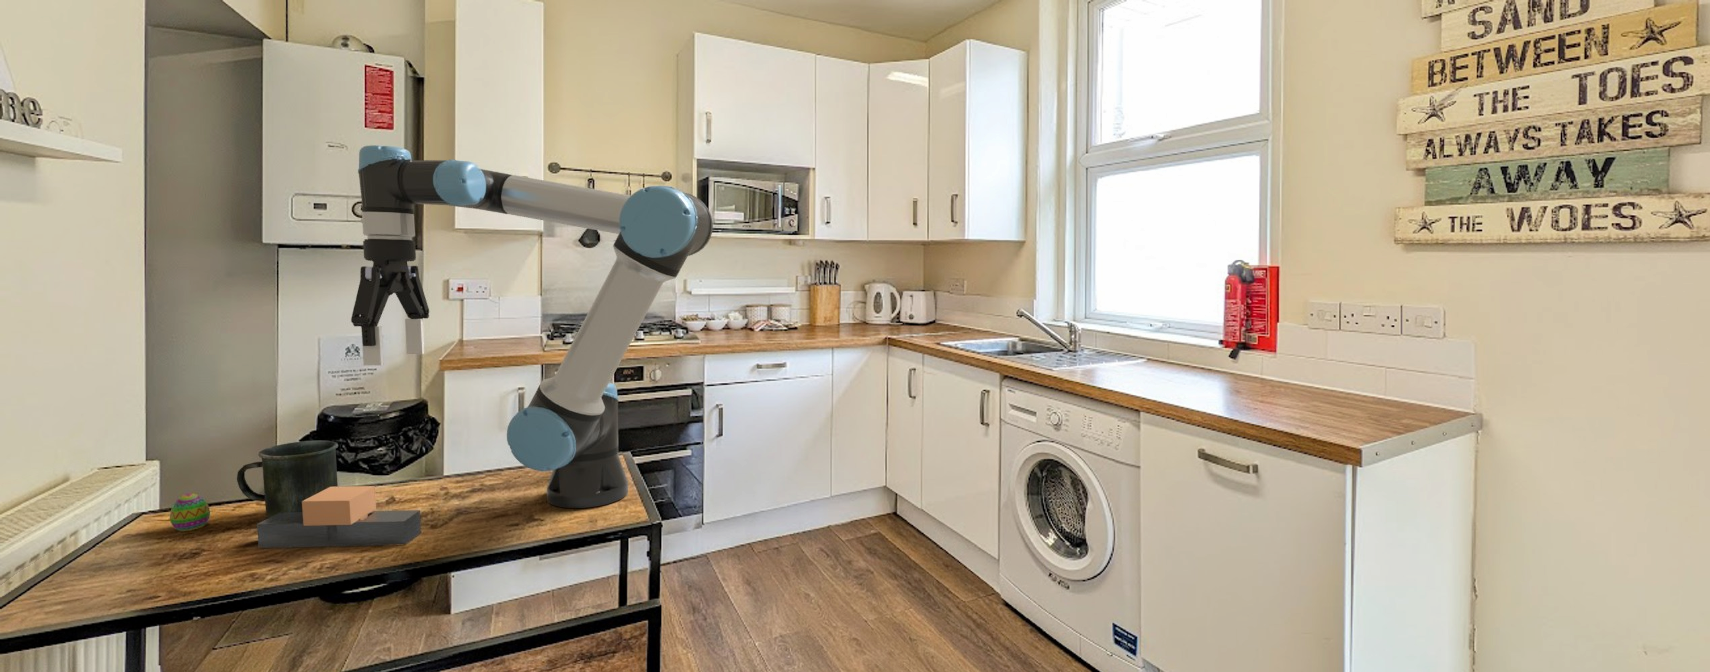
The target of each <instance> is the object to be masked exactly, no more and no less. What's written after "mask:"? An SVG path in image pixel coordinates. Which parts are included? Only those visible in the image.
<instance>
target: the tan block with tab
mask: <svg viewBox="0 0 1710 672" xmlns="http://www.w3.org/2000/svg"><path fill="white" fill-rule="evenodd" d="M302 509H303V524H304V526H309V525H351V524H353V523H354V522H356V521H358V520H364V519H365V518H367V517H368V514H369V513H370V512H372V511H376V510H377V499H376V486H374V485H368V486H367V485H365V486H364V485H363V486H362V485H361V486H360V485H359V486H357V485H355V486H354V485H353V486H338V487H329V488H327V489H325V490H323V491H321V492H319V493H317V494H315V495H313V496H311V497H309V498H307V499H306V500H304V501H302Z"/></svg>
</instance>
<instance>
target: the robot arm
mask: <svg viewBox="0 0 1710 672" xmlns="http://www.w3.org/2000/svg"><path fill="white" fill-rule="evenodd" d="M357 173H358V179H359V187H360V188H359V189H360V190H359V191H360V198H361V214H362V215H361V219H360V223H361V224H362V235H364V236H367V238H364V240H363V241H362V244H363V245H362V248H363V258H364V259H365V261H370V262H372V266H367V265H366V266H361V267H360V274H359V275H360V277H359V278H360V280H359V285H358V288H357V291H356V297H355V301H354V305H353V310H352V313H351V318H350V320H351V321H350V322H351V323H352V325H353V326H354V327H360V328H361V329H360V330H361V341H362V342H361V343H362V344H361V345H362V359H363V366H384V351H383V350H384V349H383V333H382V332H383V331H382V326H381V325H379V322H380V320H381V317H382V314H383V313H384V310H385V307H386V304H387V302H388V299H389V297H390V296H392V295H394V294H395V295H396V297H397V299H398V301H399V303H400V304H401V306H402V309H403V310H404V312H405V315H406V316H407V318H405V319H404V323H405V324H404V325H405V345H406V355H424V354H425V343H424V342H425V341H424V340H425V339H424V336H425V335H424V323H423V321H424V320H423V319H429V317H430V315H429V314H430V307H429V305H428V302H427V298H426V295H425V291H424V288H423V285H422V282H421V280H420V279H421V278H420V272H419V266H418V265H409V264H408V262H414V261H416V258H417V252H416V242H415V241H414V240H412V238H414V237H416V231H415V230H416V228H415V227H416V226H415V214H414V207H415V206H414V205H432V206H435V205H436V206H449V207H457V208H467V209H474V210H481V211H485V212H486V211H487V212H492V213H498V214H505V215H511V216H517V217H523V218H528V219H534V220H540V221H544V222H551V223H554V224H555V223H556V224H560V225H567V226H572V227H578V228H584V229H588V230H593V231H594V230H595V231H599V232H604V233H611V234H615V235H617V237H616V239H615V241H614V243H613V245H612V248H613V250H614V253H615V256H616V260H615V261H614V263H613V265H612V267H611V269H610V271H609V272H608V274H607V276H606V278H605V280H604V282H603V283H602V286H601V288H600V290H599V291H598V294H597V295H596V297H595V299H594V301H593V303H592V305H591V307H590V309H589V310H588V312H587V314H586V316H585V318H584V320H583V322H582V323H581V325H580V327H579V329H578V332H577V333H576V335H575V337H574V339H573V341H572V342H571V344H570V346H569V348H568V350H567V352H566V354H565V356H564V358H563V359H562V361H561V364H560V365H559V367H558V369H557V370H556V371H557V372H556V373H555V375H554V376H553V377H549V378H545V379H543V380H542V381H541V382H540V384H539V385H538V387H537V389H536V391H535V393H534V395H533V396H532V399H531V400H530V402H529V404H528V406H527V407H524V408H522V409H520V410H519V411H518V412H516V414H515V415H513V417H512V418H511V419H510V421H509V423H508V425H507V429H506V441H507V445H508V446H509V449H510V453H512V456H513V457H514V458H515V459H516V460H517V461H518V462H519V464H521V465H523V466H525V467H527V468H528V469H530V470H532V471H537V472H551V474H550V477H549V481H548V484H547V487H546V499H547V500H546V501H547V502H548V503H549V504H550V505H553V506H556V507H560V508H567V509H588V508H593V507H600V506H605V505H608V504H612V503H615V502H617V501H618V502H619V501H620V500H622V499H623V498H625V497H626V496H627V495H628V492H629V480H628V477H627V475H626V472H625V470H624V467H623V463H622V461H621V459H620V456H619V396H618V389H617V386H616V384H614V383H612V382H611V379H612V378H613V376H614V374H615V372H616V371H617V369H618V367H619V365H620V363H621V361H622V360H623V358H624V356H625V354H626V352H627V350H628V349H629V347H630V344H631V343H632V341H633V340H634V338H635V336H636V333H637V332H638V330H639V328H640V327H641V325H642V323H643V321H644V319H645V317H646V315H647V313H648V311H649V310H650V308H651V306H652V305H653V303H654V300H655V299H656V297H657V295H658V293H659V291H660V289H661V288H662V285H663V283H665V282H667V281H671V280H674V279H676V278H678V277H677V276H678V275H679V273H680V272H681V269H682V268H683V266H684V264H685V263H686V261H687V259H688V257H690V256H693V255H696V254H697V253H699V252H701V251H703V249H704V248H705V247H706V246H707V245H708V243H709V242H710V239H711V237H712V234H713V229H714V222H713V221H714V220H713V217H712V214H711V212H710V209H709V208H708V207H707V206H706V204H705V203H704V202H703V201H702V200H701V199H700V198H699V197H696V196H695V195H693V194H690V193H687V192H684V191H681V190H679V189H677V188H675V187H673V186H668V185H651V186H645V187H642V188H641V189H639V190H637V191H635V192H634V193H632V194H631V195H630V194H629V195H628V194H623V193H619V192H612V191H607V190H601V189H596V188H591V187H590V188H588V187H584V186H577V185H572V184H566V183H561V182H557V181H555V182H554V181H550V180H543V179H539V178H532V177H528V176H527V177H526V176H522V175H521V176H520V175H513V174H509V173H504V172H499V171H492V170H488V169H482V168H479V166H478V165H477V163H474V162H472V161H467V160H465V161H464V160H457V159H448V160H447V159H446V160H442V159H438V160H437V159H436V160H435V159H434V160H433V159H431V160H430V159H429V160H428V159H426V160H425V159H423V160H422V159H419V160H418V159H413V158H412V154H411V152H410V151H409V150H408V149H406V148H402V147H397V146H389V145H373V144H372V145H371V144H370V145H364V146H363V147H361V148H360V149H359V152H358V169H357ZM378 325H379V326H378Z"/></svg>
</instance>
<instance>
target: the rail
mask: <svg viewBox="0 0 1710 672" xmlns="http://www.w3.org/2000/svg"><path fill="white" fill-rule="evenodd" d="M421 524H422V521H421V510H420V509H418V510H417V509H413V510H411V509H409V510H405V509H404V510H402V509H401V510H374V511H372V512H370V513H369V514H368V517H367V518H365V519H364V520H358V521H356V522H354V523H353V524H351V525H309V526H304V524H303V512H288V513H278V514H276V515H274V516H272V517H270V518H268V517H267V518H266V519H264V520H261V521H260V522H258V523H257V524H256V528H257V529H256V531H257V542H258V543H257V547H258V549H278V548H279V549H281V548H282V549H283V548H287V549H288V548H290V549H291V548H322V547H323V548H324V547H330V548H331V547H364V546H365V547H370V546H371V547H372V546H374V547H375V546H405V545H407V544H408V543H410V542H411V541H413V540H414V539H415V538H416V537H417V536H419V535H420V534H422V525H421Z"/></svg>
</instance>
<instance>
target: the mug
mask: <svg viewBox="0 0 1710 672" xmlns="http://www.w3.org/2000/svg"><path fill="white" fill-rule="evenodd" d="M338 447H339V444H338V442H335V441H331V440H320V439H319V440H303V441H296V442H295V441H293V442H287V443H282V444H278V445H273V446H270V447H266V448H264V449H262V450H260V451H259V452H258V457H259V458H260V459H261V461H255V462H252V463H247V464H244V465H243V466H241V468H240V469H239V470H238V471H237V474H236V482H237V485H238V488H239V489H240V491H241V493H242V494H243V495H244V496H245V497H246V498H248V499H250V500H252V501H259V502H264V507H265V516H266V517H267V519H268V518H270V517H272V516H274V515H276V514H278V513H288V512H303V509H302V501H304V500H306V499H307V498H309V497H311V496H313V495H315V494H317V493H319V492H321V491H323V490H325V489H327V488H329V487H339V486H338V484H339V483H338V470H337V469H338V468H337V453H336V449H337V448H338ZM256 468H257V469H259V468H262V476H263V477H262V480H263V490H264V491H263V492H264V493H263V494H262V493H257V492H255V491H254V490H253V489H252V488H251V487H250V486H249V484H248V482H247V479H246V477H245V472H246V471H247V470H251V469H256Z"/></svg>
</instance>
